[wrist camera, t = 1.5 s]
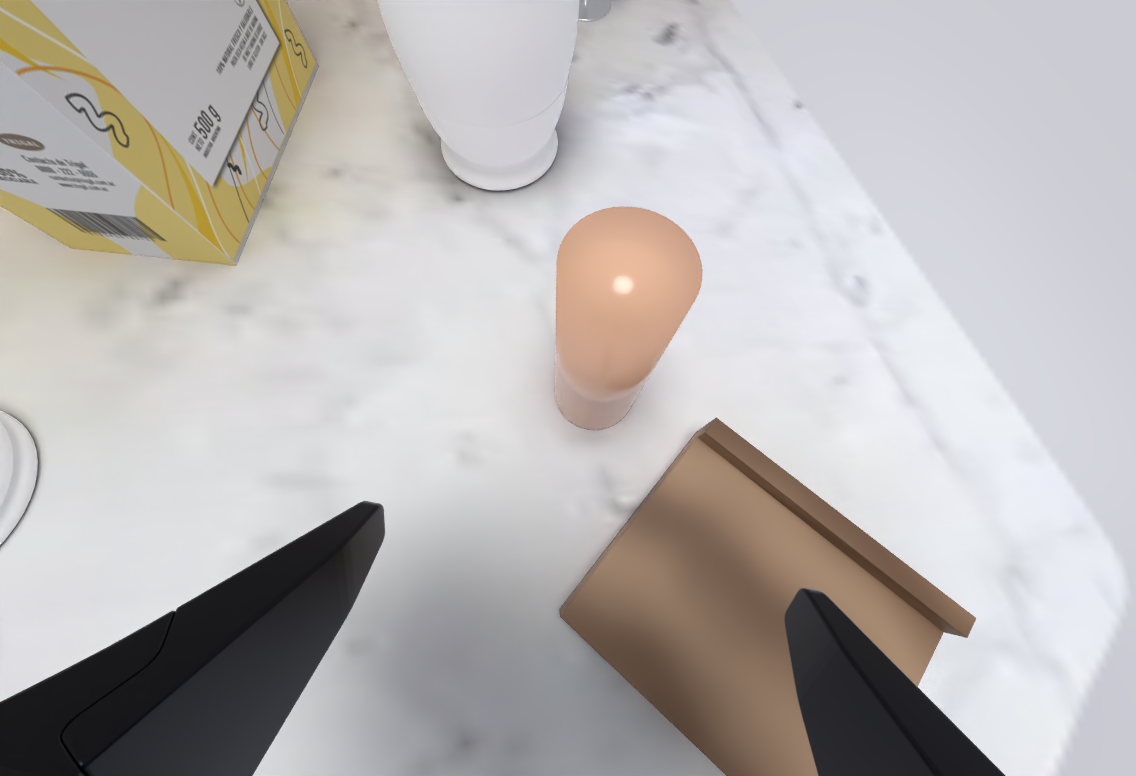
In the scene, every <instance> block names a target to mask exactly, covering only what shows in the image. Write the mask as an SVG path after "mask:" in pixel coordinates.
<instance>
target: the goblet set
mask: <svg viewBox="0 0 1136 776" xmlns="http://www.w3.org/2000/svg"><path fill="white" fill-rule="evenodd" d="M610 9H611V2H610V0H579V14H578V20H579V21H596V20H599V19H601V18H603V17H605V16H606V15H607V14H608V13H609V11H610Z"/></svg>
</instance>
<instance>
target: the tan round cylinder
mask: <svg viewBox="0 0 1136 776" xmlns="http://www.w3.org/2000/svg"><path fill="white" fill-rule="evenodd" d="M701 282H702V265H701V260H700V256H699V253H698V251H697V249H696V247H695V245H694V243H693V242H692V240H691V239H690V238H689V236H688V235H687V234H686V233H685V232H684V231H683V230H682V229H681V228H680V227H679V226H678V225H677V224H675V223H674V222H673V221H671V220H669V219H668V218H666V217H664V216H662V215H660V214H658V213H656V212H653V211H650V210H646V209H642V208H636V207H612V208H607V209H603V210H600V211H597V212H594V213H592V214H590V215H588V216H586V217H584V218H583V219H581V220H580V221H579V222H577V223H576V224H575V225H574V226H573V227H572V228H571V229H570V230H569V231H568V233H567V234H566V236H565V237H564V239H563V241H562V243H561V245H560V248H559V251H558V256H557V277H556V341H555V399H556V403H557V406H558V408H559V410H560V411H561V413H562V414H563V415H564V417H565V418H566V419H567V420H569V421H570V422H571V423H573V424H574V425H576V426H578V427H581V428H584V429H589V430H601V429H606V428H609V427H611V426H613V425H615V424H617V423H618V422H619V421H621V420H622V419H623V418H624V417H625V415H626V414H627V412H628V411H629V409H630V407H631V406H632V404H633V402H634V401H635V399H636V397H637V396H638V394H639V392H640V391H641V389H642V387H643V386H644V384H645V382H646V381H647V379H648V377H649V376H650V374H651V372H652V371H653V369H654V368H655V366H656V364H657V363H658V361H659V359H660V358H661V356H662V354H663V353H664V351H665V349H666V348H667V346H668V344H669V343H670V341H671V339H672V338H673V336H674V334H675V333H676V331H677V329H678V328H679V326H680V324H681V323H682V321H683V319H684V318H685V316H686V314H687V313H688V311H689V309H690V308H691V306H692V304H693V303H694V301H695V299H696V297H697V295H698V293H699V290H700V287H701Z"/></svg>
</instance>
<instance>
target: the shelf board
mask: <svg viewBox="0 0 1136 776" xmlns="http://www.w3.org/2000/svg"><path fill="white" fill-rule="evenodd" d="M801 588H809V589H814V590H819V591H821V592H823V593H825V594H826V595H827V596H828V597H829V598H830V599H831V600H832V601H833V602H834V603H835V604H836V605H837V606H838V607H839V608H840V609H841V610H842V611H843V612H844V613H845V614H846V615H847V616H848V617H849V618H850V619H851V620H852V621H853V622H854V623H855V624H856V625H857V626H858V627H859V628H860V630H861V631H862V632H863V633H864V634H865V635H866V636H867V637H868V638H869V639H870V640H871V641H872V642H873V643H874V644H875V645H876V646H877V647H878V648H879V649H880V650H881V651H882V652H883V653H884V654H885V655H886V656H887V657H888V658H889V659H890V660H891V661H892V662H893V663H894V664H895V665H896V666H897V667H898V668H899V669H900V670H901V671H902V672H903V673H904V674H905V675H906V676H907V677H908V678H909V679H910V680H911V681H912V682H913V683H914V684H915V685H916V686H917V687H918V684H919V682H920V680H921V678H922V676H923V674H924V672H925V670H926V668H927V666H928V664H929V662H930V660H931V657H932V655H933V653H934V651H935V649H936V647H937V645H938V643H939V641H940V639H941V637H942V635H943V632H945V633H950V634H954V635H958V636H962V637H966V638H967V637H968V635H969V633H970V631H971V629H972V626H973V624H974V622H975V620H976V618H975V617H974V616H973V615H971V614H970V613H969V612H967V611H966V610H965V609H964V608H962V607H961V606H960V605H958V604H957V603H956V602H955V601H953V600H952V599H951V598H949V597H948V596H947V595H945V594H944V593H943V592H942V591H940V590H939V589H938V588H936V587H935V586H934V585H933V584H931V583H930V582H929V581H927V580H926V579H925V578H923V577H922V576H921V575H920V574H918V573H917V572H916V571H914V570H913V569H912V568H910V567H909V566H908V565H907V564H905V563H904V562H903V561H901V560H900V559H899V558H898V557H896V556H895V555H894V554H892V553H891V552H890V551H888V550H887V549H886V548H885V547H883V546H882V545H881V544H879V543H878V542H877V541H876V540H874V539H873V538H872V537H870V536H869V535H868V534H866V533H865V532H864V531H863V530H861V529H860V528H859V527H857V526H856V525H855V524H854V523H852V522H851V521H850V520H848V519H847V518H846V517H844V516H843V515H842V514H841V513H839V512H838V511H837V510H835V509H834V508H833V507H831V506H830V505H829V504H828V503H826V502H825V501H824V500H822V499H821V498H820V497H819V496H817V495H816V494H815V493H813V492H812V491H811V490H809V489H808V488H807V487H806V486H804V485H803V484H802V483H800V482H799V481H798V480H797V479H795V478H794V477H793V476H791V475H790V474H789V473H787V472H786V471H785V470H784V469H782V468H781V467H780V466H778V465H777V464H776V463H774V462H773V461H772V460H771V459H769V458H768V457H767V456H765V455H764V454H763V453H762V452H760V451H759V450H758V449H756V448H755V447H754V446H752V445H751V444H750V443H749V442H747V441H746V440H745V439H743V438H742V437H741V436H740V435H738V434H737V433H736V432H734V431H733V430H732V429H730V428H729V427H728V426H727V425H725V424H724V423H723V422H721V421H720V420H719V419H717V418H715V419H714V420H712V421H711V422H710V423H708V424H707V425H705V426H704V427H703V428H701V429H700V430H699V431H697V432H696V433H695V434H694V436H693V437H692V438H691V440H690V441H689V442H688V444H687V445H686V446H685V447H684V449H683V450H682V451H681V453H680V454H679V455H678V456H677V458H676V459H675V460H674V462H673V463H672V464H671V466H670V467H669V468H668V469H667V471H666V472H665V473H664V475H663V476H662V477H661V479H660V480H659V481H658V482H657V484H656V485H655V486H654V488H653V489H652V490H651V491H650V493H649V494H648V495H647V497H646V498H645V499H644V501H643V502H642V503H641V504H640V506H639V507H638V508H637V510H636V511H635V512H634V514H633V515H632V516H631V517H630V519H629V520H628V521H627V523H626V524H625V525H624V526H623V528H622V529H621V530H620V532H619V533H618V534H617V536H616V537H615V538H614V539H613V541H612V542H611V543H610V545H609V546H608V547H607V549H606V550H605V551H604V552H603V554H602V555H601V556H600V558H599V559H598V560H597V561H596V563H595V564H594V565H593V567H592V568H591V569H590V571H589V572H588V573H587V574H586V576H585V577H584V578H583V580H582V581H581V582H580V584H579V585H578V586H577V587H576V589H575V590H574V591H573V593H572V594H571V595H570V596H569V598H568V599H567V600H566V602H565V603H564V604H563V606H562V607H561V608H560V609H559V610H560V617H561V618H562V619H563V620H564V621H566V622H567V623H568V624H569V625H570V626H571V627H572V628H573V629H574V630H575V631H576V632H577V633H578V634H579V635H580V636H581V637H582V638H583V639H584V640H585V641H586V642H587V643H589V644H590V645H591V646H592V647H593V648H594V649H595V650H596V651H597V652H598V653H599V654H600V655H601V656H602V657H603V658H604V659H605V660H606V661H607V662H608V663H609V664H610V665H612V666H613V667H614V668H615V669H616V670H617V671H618V672H619V673H620V674H621V675H622V676H623V677H624V678H625V679H626V680H627V681H628V682H629V683H630V684H631V685H632V686H634V687H635V688H636V689H637V690H638V691H639V692H640V693H641V694H642V695H643V696H644V697H645V698H646V699H647V700H648V701H649V702H650V703H651V704H652V705H653V706H654V707H655V708H657V709H658V710H659V711H660V712H661V713H662V714H663V715H664V716H665V717H666V718H667V719H668V720H669V721H670V722H671V723H672V724H673V725H674V726H675V727H676V728H677V729H679V730H680V731H681V732H682V733H683V734H684V735H685V736H686V737H687V738H688V739H689V740H690V741H691V742H692V743H693V744H694V745H695V746H696V747H697V748H698V749H699V750H700V751H702V752H703V753H704V754H705V755H706V756H707V757H708V758H709V759H710V760H711V761H712V762H713V763H714V764H715V765H716V766H717V767H718V768H719V769H720V770H721V771H722V772H723V773H725V774H726V775H727V776H818V773H817V769H816V766H815V762H814V758H813V755H812V751H811V747H810V744H809V740H808V736H807V733H806V729H805V725H804V722H803V718H802V714H801V710H800V706H799V702H798V697H797V692H796V687H795V681H794V676H793V670H792V664H791V658H790V653H789V647H788V641H787V635H786V629H785V623H784V617H785V612H786V610H787V608H788V607H789V605H790V603H791V602H792V600H793V598H794V597H795V595H796V593H797V592H798V590H799V589H801Z"/></svg>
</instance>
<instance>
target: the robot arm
mask: <svg viewBox="0 0 1136 776" xmlns="http://www.w3.org/2000/svg"><path fill="white" fill-rule="evenodd" d="M384 536H385V523H384V509H383V506H382V505H381V504H378V503H373V502H368V501H363V502H360V503H358V504H357V505H355V506H353V507H351V508H350V509H348V510H346V511H344V512H343V513H341V514H339V515H337V516H336V517H334V518H332V519H331V520H329V521H327V522H325V523H324V524H322V525H320V526H318V527H317V528H315V529H313V530H311V531H310V532H308V533H306V534H305V535H303V536H301V537H299V538H298V539H296V540H294V541H292V542H291V543H289V544H287V545H285V546H284V547H282V548H280V549H279V550H277V551H275V552H273V553H272V554H270V555H268V556H266V557H265V558H263V559H261V560H259V561H258V562H256V563H254V564H252V565H251V566H249V567H247V568H246V569H244V570H242V571H240V572H239V573H237V574H235V575H233V576H232V577H230V578H228V579H226V580H225V581H223V582H221V583H220V584H218V585H216V586H214V587H213V588H211V589H209V590H207V591H206V592H204V593H202V594H200V595H199V596H197V597H195V598H194V599H192V600H190V601H188V602H187V603H185V604H183V605H181V606H180V607H178V608H177V610H176V612H175V611H171V612H169V613H167V614H165V615H164V616H162V617H160V618H159V619H157V620H155V621H153V622H152V623H150V624H148V625H146V626H145V627H143V628H141V629H139V630H137V631H136V632H134V633H132V634H130V635H128V636H127V637H125V638H123V639H121V640H119V641H118V642H116V643H114V644H112V645H110V646H109V647H107V648H105V649H103V650H101V651H99V652H97V653H95V654H93V655H92V656H90V657H88V658H86V659H84V660H82V661H80V662H78V663H76V664H74V665H72V666H70V667H68V668H67V669H65V670H63V671H61V672H59V673H57V674H55V675H53V676H51V677H49V678H47V679H45V680H43V681H41V682H39V683H37V684H35V685H33V686H31V687H29V688H27V689H25V690H23V691H21V692H19V693H17V694H15V695H13V696H11V697H9V698H7V699H5V700H3V701H1V702H0V776H252V775H253V774H254V772H255V770H256V769H257V767H258V765H259V764H260V762H261V760H262V759H263V757H264V755H265V754H266V752H267V750H268V749H269V747H270V745H271V744H272V742H273V740H274V739H275V737H276V735H277V733H278V732H279V730H280V728H281V727H282V725H283V723H284V722H285V720H286V718H287V717H288V715H289V713H290V712H291V710H292V708H293V707H294V705H295V703H296V702H297V700H298V698H299V697H300V695H301V693H302V692H303V690H304V688H305V687H306V685H307V683H308V681H309V680H310V678H311V676H312V675H313V673H314V671H315V670H316V668H317V666H318V665H319V663H320V661H321V660H322V658H323V656H324V655H325V653H326V651H327V650H328V648H329V646H330V645H331V643H332V641H333V640H334V638H335V636H336V635H337V633H338V631H339V630H340V628H341V626H342V624H343V623H344V621H345V619H346V618H347V616H348V614H349V612H350V610H351V608H352V606H353V604H354V602H355V600H356V598H357V596H358V594H359V592H360V590H361V587H362V585H363V583H364V581H365V579H366V577H367V575H368V572H369V570H370V568H371V566H372V564H373V562H374V560H375V557H376V555H377V553H378V551H379V549H380V547H381V545H382V542H383V539H384ZM784 623H785V629H786V635H787V641H788V647H789V653H790V658H791V664H792V670H793V676H794V681H795V687H796V692H797V697H798V702H799V706H800V710H801V714H802V718H803V722H804V725H805V729H806V733H807V736H808V740H809V744H810V747H811V751H812V755H813V758H814V762H815V766H816V769H817V773H818V776H1005V775H1004V774H1003V773H1002V772H1001V771H1000V770H999V769H998V768H997V767H996V766H995V765H994V764H993V763H992V762H991V761H990V760H989V759H988V758H987V757H986V756H985V755H984V754H983V753H982V752H981V751H980V750H979V749H978V748H977V746H976V745H975V744H974V743H973V742H972V741H971V740H970V739H969V738H968V737H967V736H966V735H965V734H964V733H963V732H962V731H961V730H960V729H959V728H958V727H957V726H956V725H955V724H954V723H953V722H952V721H951V720H950V719H949V718H948V717H947V716H946V715H945V714H944V713H943V712H942V711H941V710H940V709H939V708H938V707H937V706H936V705H935V704H934V703H933V702H932V701H931V700H930V699H929V698H928V697H927V696H926V695H925V694H924V693H923V692H922V691H921V690H920V689H919V688H918V687H917V686H916V685H915V684H914V683H913V682H912V681H911V680H910V679H909V678H908V677H907V676H906V675H905V674H904V673H903V672H902V671H901V670H900V669H899V668H898V667H897V666H896V665H895V664H894V663H893V662H892V661H891V660H890V659H889V658H888V657H887V656H886V655H885V654H884V653H883V652H882V651H881V650H880V649H879V648H878V647H877V646H876V645H875V644H874V643H873V642H872V641H871V640H870V639H869V638H868V637H867V636H866V635H865V634H864V633H863V632H862V631H861V630H860V628H859V627H858V626H857V625H856V624H855V623H854V622H853V621H852V620H851V619H850V618H849V617H848V616H847V615H846V614H845V613H844V612H843V611H842V610H841V609H840V608H839V607H838V606H837V605H836V604H835V603H834V602H833V601H832V600H831V599H830V598H829V597H828V596H827V595H826V594H825V593H823V592H821V591H819V590H814V589H809V588H801V589H799V590H798V592H797V593H796V595H795V597H794V598H793V600H792V602H791V603H790V605H789V607H788V608H787V610H786V612H785V617H784Z"/></svg>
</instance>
